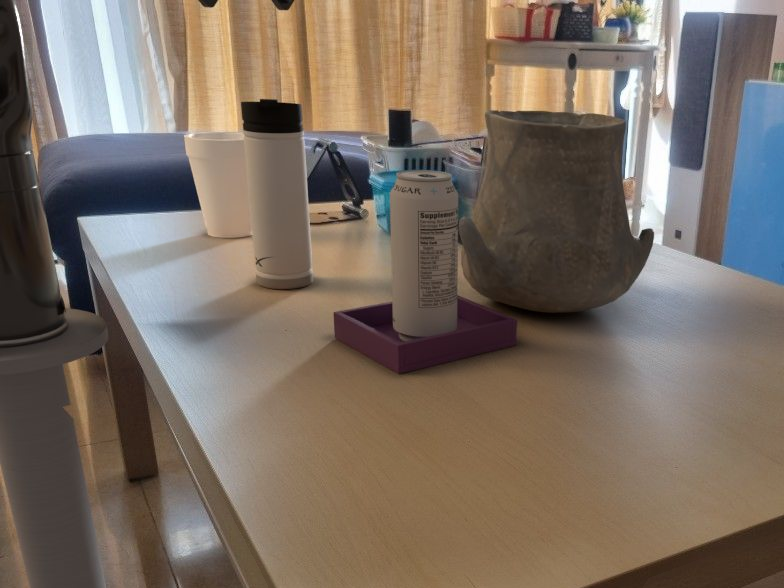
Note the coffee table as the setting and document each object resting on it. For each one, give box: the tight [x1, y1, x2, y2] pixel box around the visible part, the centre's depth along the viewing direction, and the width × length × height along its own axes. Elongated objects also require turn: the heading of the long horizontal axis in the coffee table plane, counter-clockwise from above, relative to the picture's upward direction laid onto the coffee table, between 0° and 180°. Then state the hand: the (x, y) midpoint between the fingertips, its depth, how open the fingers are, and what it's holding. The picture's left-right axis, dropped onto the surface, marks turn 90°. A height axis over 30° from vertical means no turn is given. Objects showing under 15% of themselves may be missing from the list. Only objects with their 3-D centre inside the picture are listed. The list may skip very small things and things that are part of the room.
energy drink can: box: [389, 169, 459, 342], centre depth 76 cm, size 6×6×15 cm
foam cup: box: [183, 131, 252, 239], centre depth 114 cm, size 10×9×13 cm
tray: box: [332, 294, 518, 375], centre depth 79 cm, size 13×11×3 cm
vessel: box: [458, 109, 655, 314], centre depth 90 cm, size 22×22×20 cm
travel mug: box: [240, 98, 314, 290], centre depth 92 cm, size 6×7×20 cm
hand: (251, 1), depth 70 cm, fingers open, 8 cm apart
